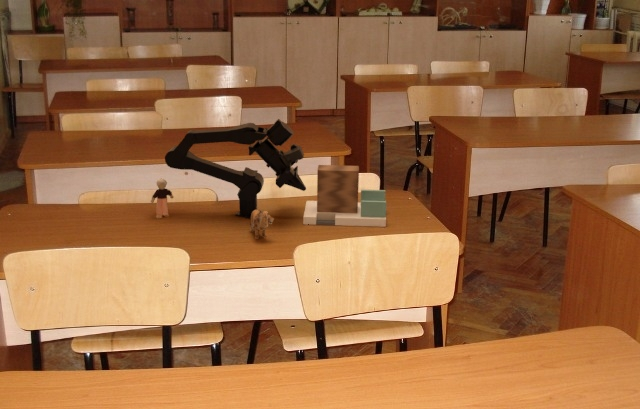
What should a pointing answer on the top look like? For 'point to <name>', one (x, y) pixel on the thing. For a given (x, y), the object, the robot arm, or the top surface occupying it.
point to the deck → (368, 213)
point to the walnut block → (337, 188)
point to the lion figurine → (260, 222)
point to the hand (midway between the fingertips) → (305, 189)
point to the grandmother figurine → (161, 198)
